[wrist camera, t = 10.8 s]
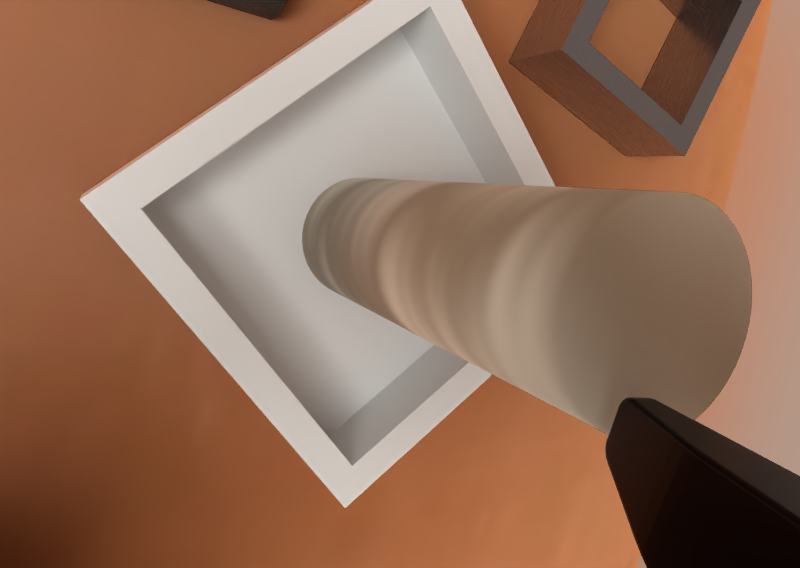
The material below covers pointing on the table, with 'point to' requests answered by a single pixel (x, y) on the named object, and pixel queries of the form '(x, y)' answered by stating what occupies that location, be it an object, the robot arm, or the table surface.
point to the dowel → (547, 284)
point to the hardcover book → (256, 6)
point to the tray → (286, 212)
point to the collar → (614, 92)
